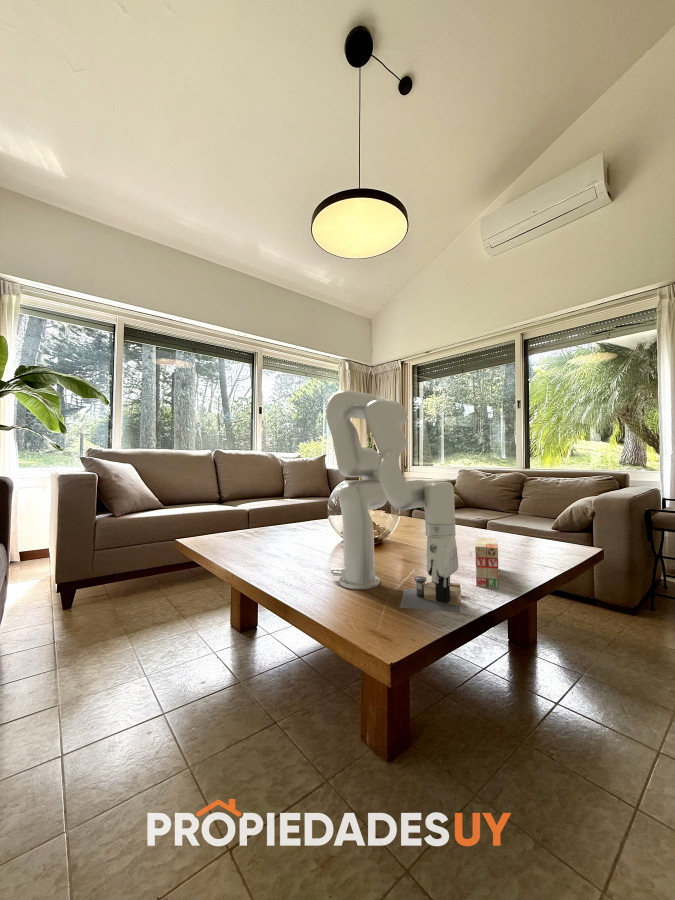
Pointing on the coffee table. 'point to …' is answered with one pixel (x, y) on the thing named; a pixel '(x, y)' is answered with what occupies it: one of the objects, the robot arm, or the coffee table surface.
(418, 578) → the post
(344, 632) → the coffee table surface
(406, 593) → the mat
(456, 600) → the leg
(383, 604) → the coffee table surface
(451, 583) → the block
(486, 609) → the coffee table surface
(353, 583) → the robot arm
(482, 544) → the stack of blocks
